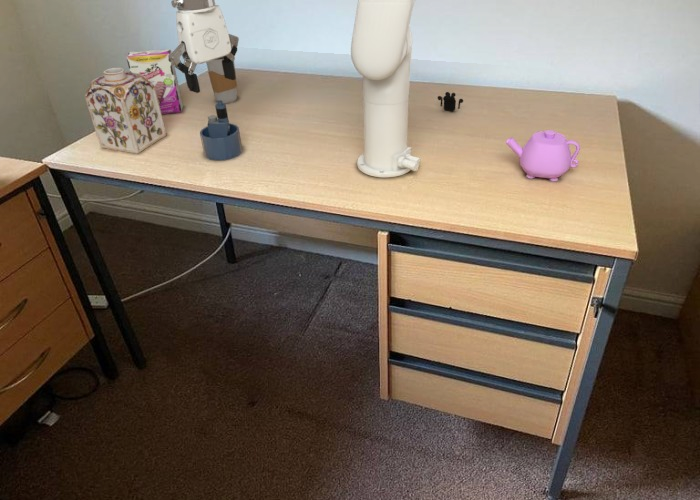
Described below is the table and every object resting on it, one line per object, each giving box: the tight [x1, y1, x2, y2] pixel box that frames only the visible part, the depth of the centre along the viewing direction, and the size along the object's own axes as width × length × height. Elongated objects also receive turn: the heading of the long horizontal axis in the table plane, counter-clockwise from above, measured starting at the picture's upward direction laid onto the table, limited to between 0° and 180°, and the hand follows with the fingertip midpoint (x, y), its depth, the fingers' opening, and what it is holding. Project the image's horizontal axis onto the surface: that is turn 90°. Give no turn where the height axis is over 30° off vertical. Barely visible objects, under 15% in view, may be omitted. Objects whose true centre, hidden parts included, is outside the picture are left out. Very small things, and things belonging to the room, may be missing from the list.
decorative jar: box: [84, 67, 167, 154], centre depth 131 cm, size 12×12×18 cm
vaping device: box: [207, 100, 231, 138], centre depth 125 cm, size 3×5×12 cm, turn 78°
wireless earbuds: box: [437, 91, 464, 112], centre depth 143 cm, size 7×2×5 cm, turn 64°
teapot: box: [505, 129, 581, 182], centre depth 113 cm, size 10×15×9 cm
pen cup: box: [199, 122, 243, 162], centre depth 127 cm, size 9×9×6 cm
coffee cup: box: [205, 57, 238, 104], centre depth 154 cm, size 8×8×15 cm
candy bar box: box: [125, 48, 184, 115], centre depth 147 cm, size 11×5×16 cm, turn 100°
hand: (213, 85), depth 119 cm, fingers open, 9 cm apart
